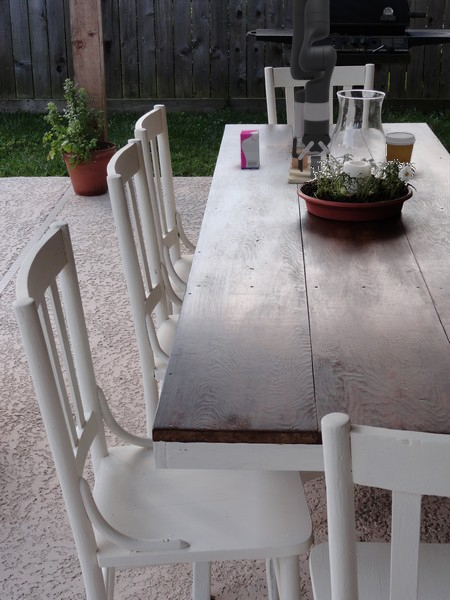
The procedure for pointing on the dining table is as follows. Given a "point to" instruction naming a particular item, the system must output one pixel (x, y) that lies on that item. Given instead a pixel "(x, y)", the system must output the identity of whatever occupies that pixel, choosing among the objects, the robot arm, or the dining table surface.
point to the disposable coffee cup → (399, 146)
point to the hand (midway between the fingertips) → (315, 171)
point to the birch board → (305, 171)
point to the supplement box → (249, 149)
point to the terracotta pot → (295, 160)
